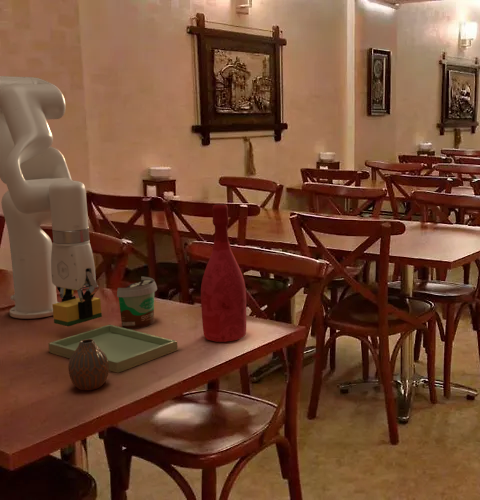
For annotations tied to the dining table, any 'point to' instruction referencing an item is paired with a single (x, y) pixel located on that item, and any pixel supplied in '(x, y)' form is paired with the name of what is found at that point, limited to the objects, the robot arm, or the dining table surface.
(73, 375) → the vase
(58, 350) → the tray
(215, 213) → the wine bottle
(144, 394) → the dining table surface
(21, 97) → the robot arm
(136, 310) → the food container
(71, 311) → the sponge
